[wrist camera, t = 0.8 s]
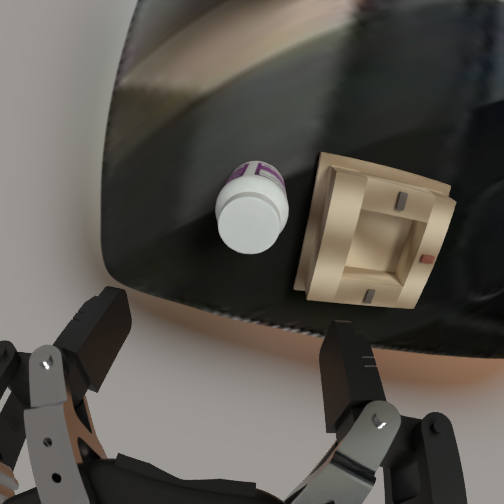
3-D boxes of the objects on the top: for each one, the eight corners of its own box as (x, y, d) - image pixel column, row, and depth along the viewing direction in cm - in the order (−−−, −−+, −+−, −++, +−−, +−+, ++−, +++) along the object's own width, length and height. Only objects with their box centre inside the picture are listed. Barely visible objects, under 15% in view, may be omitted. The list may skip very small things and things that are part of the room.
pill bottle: (235, 217, 27) (217, 268, 19) (223, 165, 25) (196, 195, 17) (289, 209, 27) (295, 258, 18) (280, 155, 24) (283, 179, 16)
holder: (320, 151, 24) (327, 158, 20) (448, 184, 23) (467, 195, 20) (293, 286, 31) (295, 308, 28) (406, 297, 31) (417, 317, 27)
